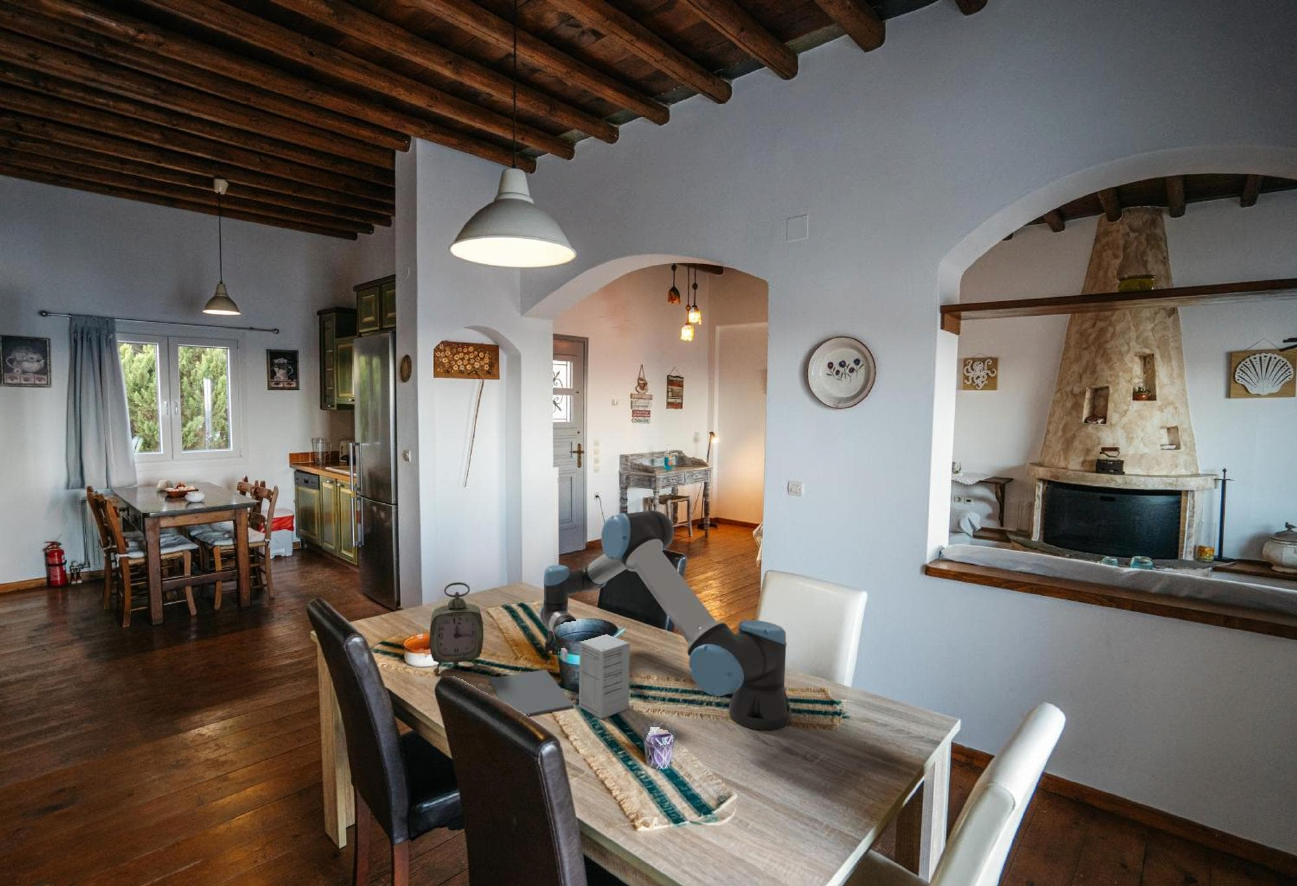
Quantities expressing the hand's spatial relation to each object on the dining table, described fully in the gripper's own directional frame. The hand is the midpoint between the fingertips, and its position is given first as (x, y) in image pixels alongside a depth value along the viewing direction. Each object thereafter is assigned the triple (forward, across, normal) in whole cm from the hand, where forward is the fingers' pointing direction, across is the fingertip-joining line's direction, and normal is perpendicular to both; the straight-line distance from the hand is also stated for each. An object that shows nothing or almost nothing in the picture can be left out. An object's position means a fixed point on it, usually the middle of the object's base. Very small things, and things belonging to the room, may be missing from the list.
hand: (590, 652), depth 168 cm
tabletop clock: (-29, +30, -11) cm, 43 cm away
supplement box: (+10, 0, -11) cm, 15 cm away
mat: (-5, +15, -11) cm, 19 cm away
